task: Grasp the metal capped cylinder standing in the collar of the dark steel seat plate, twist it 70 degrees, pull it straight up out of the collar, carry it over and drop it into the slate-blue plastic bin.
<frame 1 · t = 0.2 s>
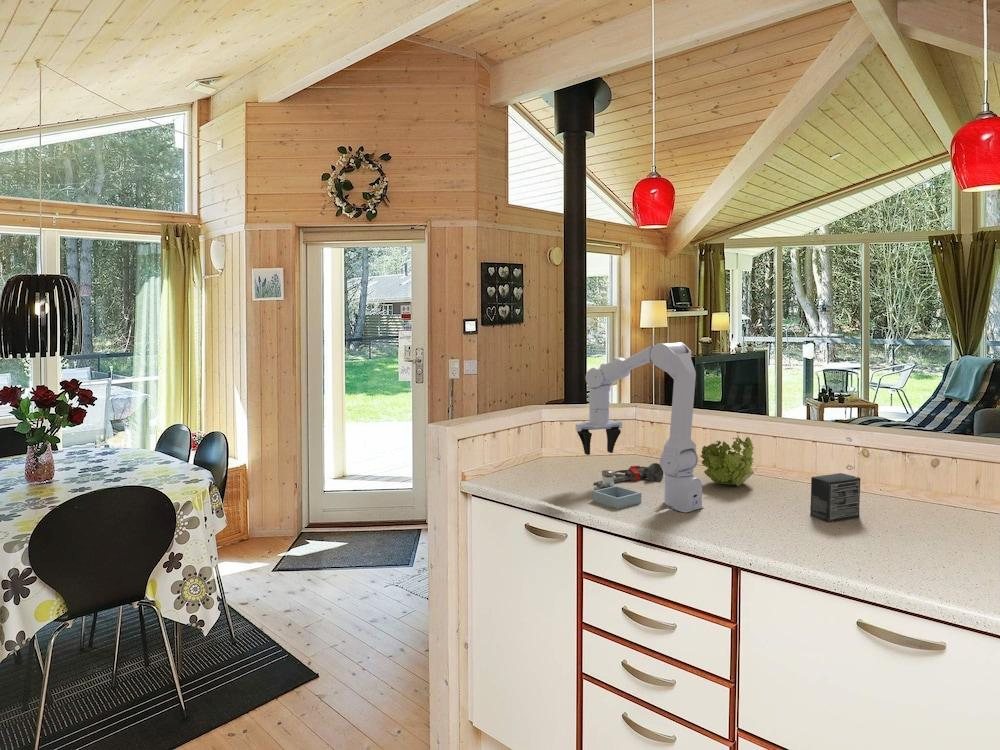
hand: (598, 453, 202), 10 cm above the worktop, fingers open, 7 cm apart
metal capped cylinder: (608, 492, 194), point 1 cm above the worktop, touching seat plate
seat plate: (608, 494, 194), on the worktop
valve: (624, 482, 210), on the worktop
lettuce head: (726, 483, 206), on the worktop
bin: (616, 504, 184), on the worktop
small box: (834, 517, 173), on the worktop
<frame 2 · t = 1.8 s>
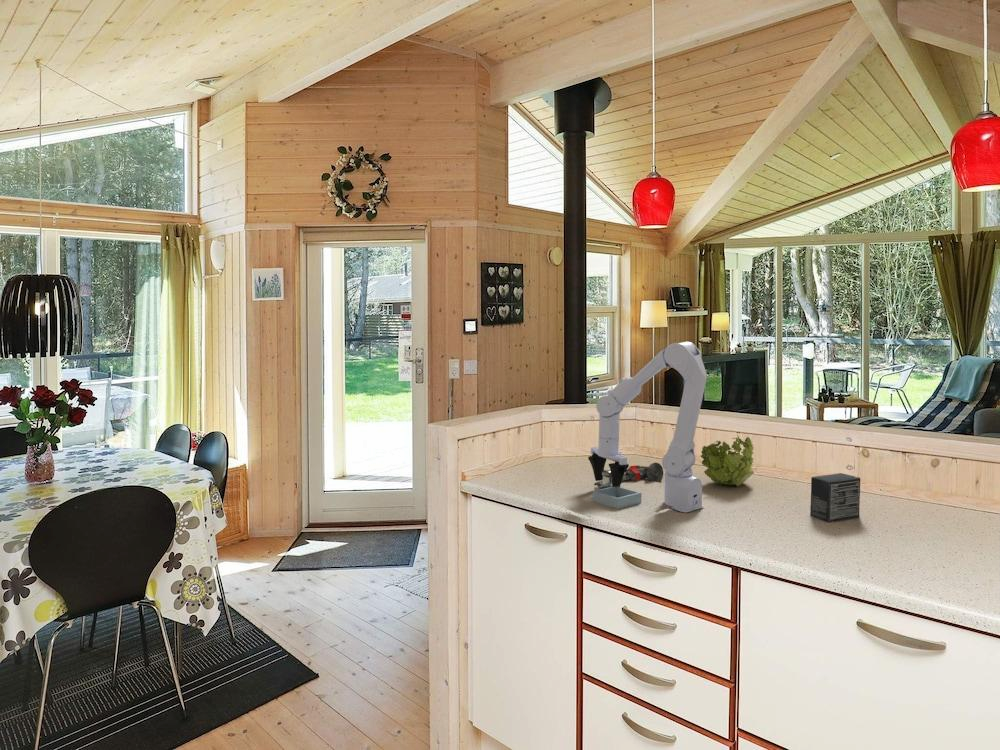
hand: (607, 483, 194), 3 cm above the worktop, fingers open, 7 cm apart
nothing on the worktop moved.
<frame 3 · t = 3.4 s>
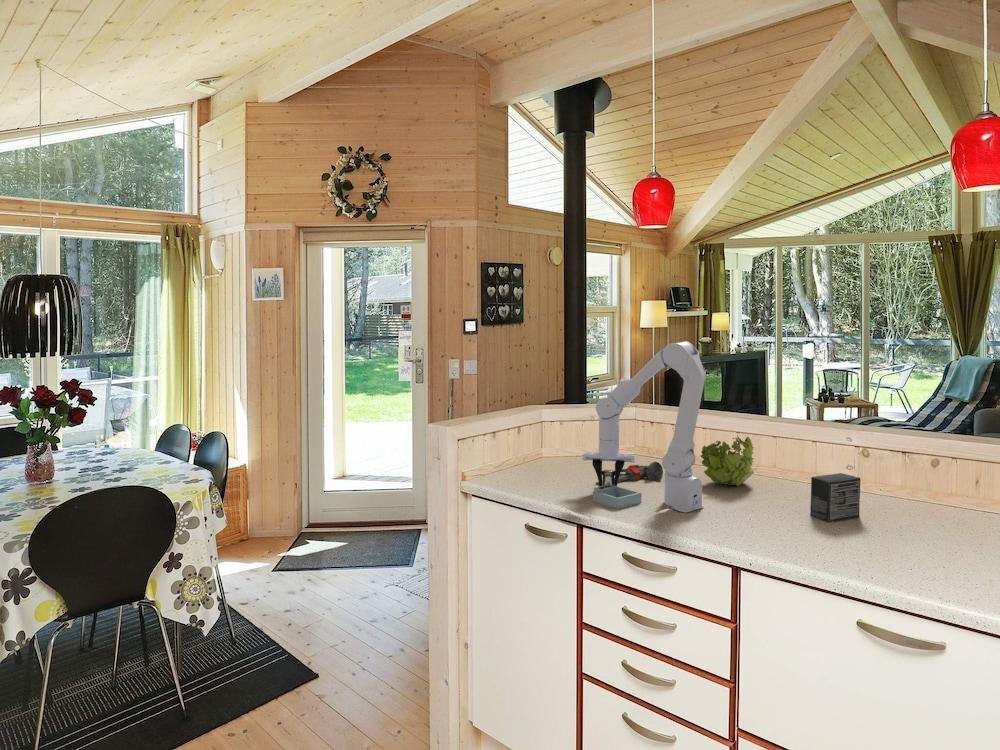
hand: (608, 486, 194), 3 cm above the worktop, fingers closed on metal capped cylinder, 4 cm apart
metal capped cylinder: (608, 491, 194), point 1 cm above the worktop, touching gripper, seat plate
when the fingers open (5 cm above the worktop, at t = 6.4 s): metal capped cylinder drops 3 cm, resting on bin.
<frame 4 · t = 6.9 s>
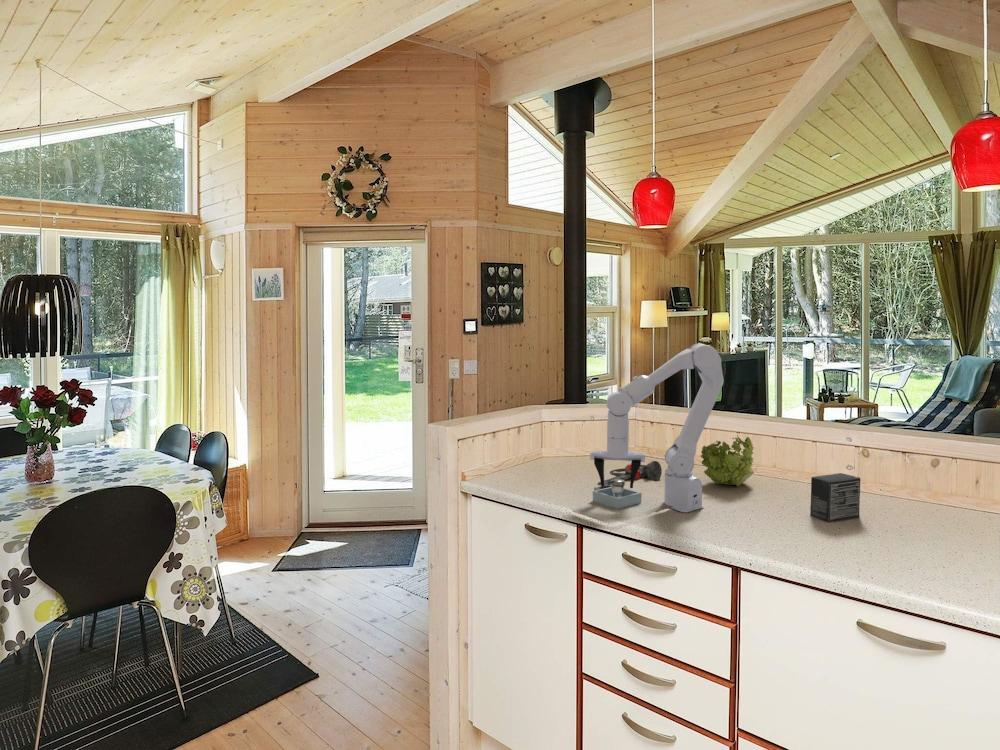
hand: (617, 486, 184), 5 cm above the worktop, fingers open, 7 cm apart
metal capped cylinder: (616, 502, 184), point 1 cm above the worktop, touching bin
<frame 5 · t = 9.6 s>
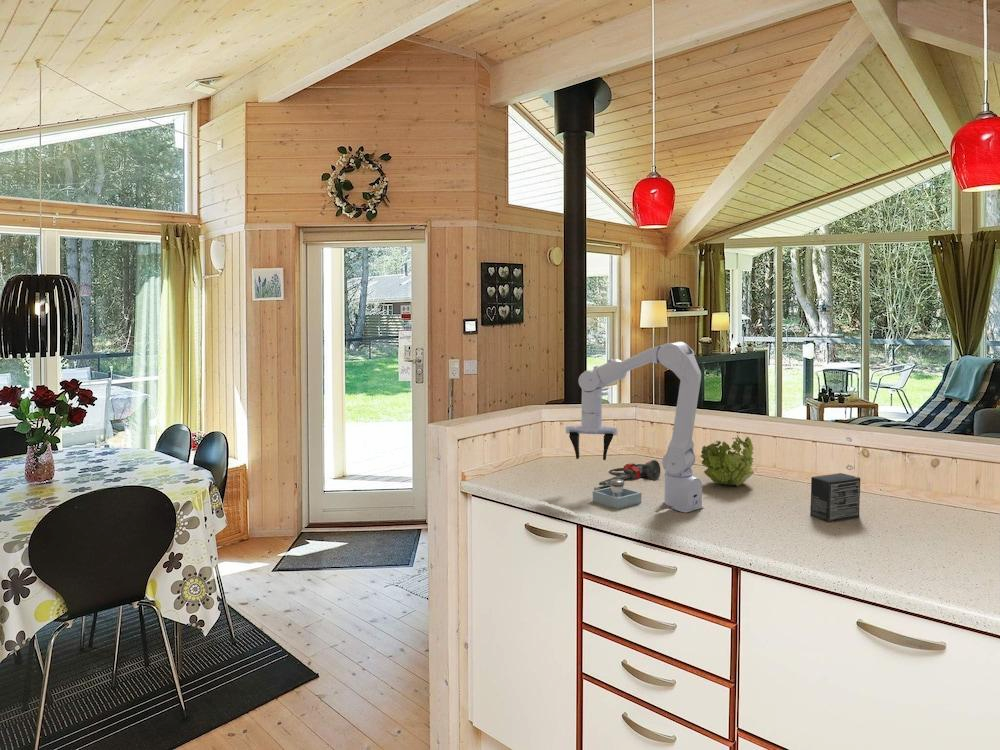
hand: (591, 458, 196), 10 cm above the worktop, fingers open, 7 cm apart
at the end: metal capped cylinder inside the target area on the bin (0.1 cm from its centre), point 0.5 cm above the bin's base; the gripper is holding nothing; metal capped cylinder moved 9.4 cm from its start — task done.
